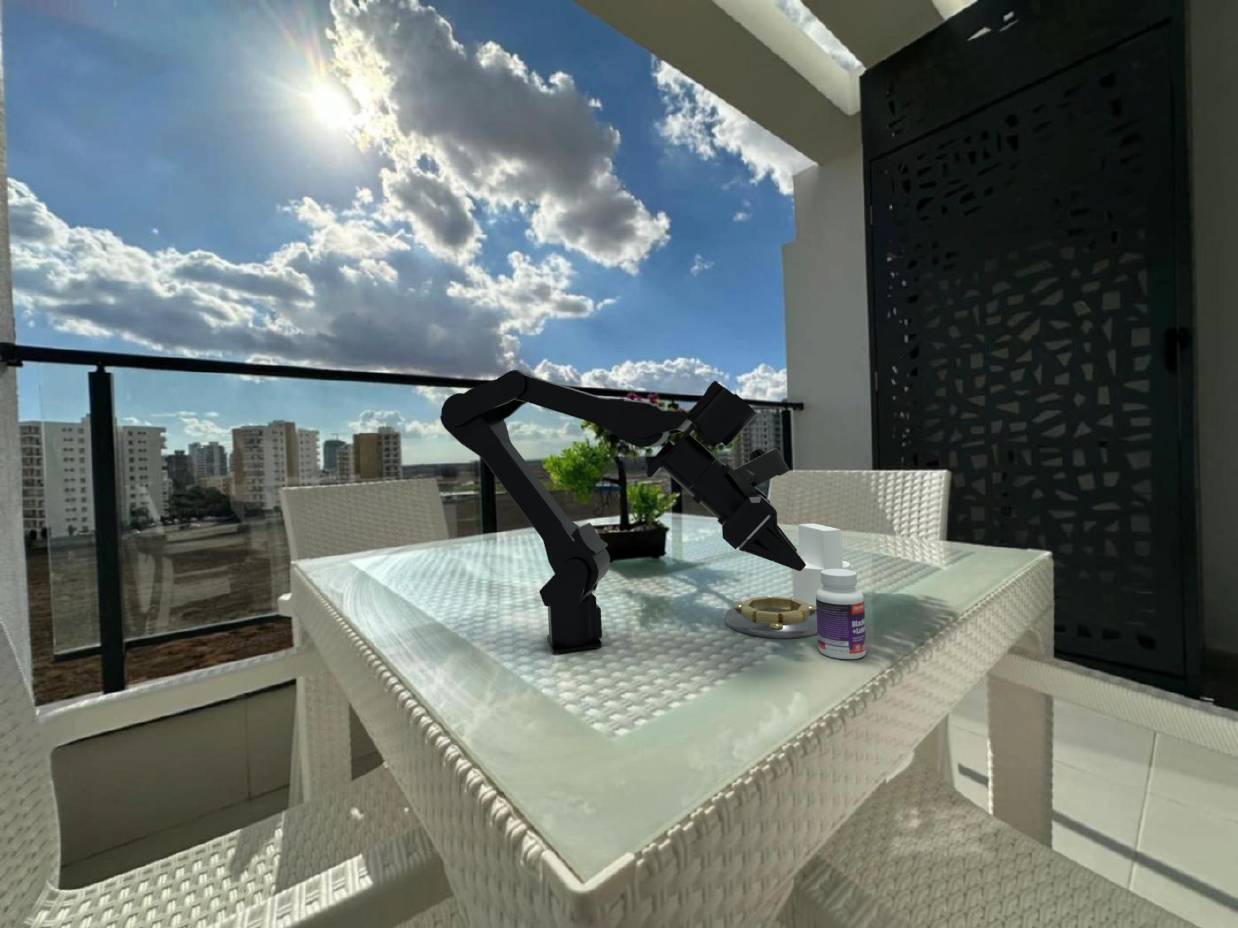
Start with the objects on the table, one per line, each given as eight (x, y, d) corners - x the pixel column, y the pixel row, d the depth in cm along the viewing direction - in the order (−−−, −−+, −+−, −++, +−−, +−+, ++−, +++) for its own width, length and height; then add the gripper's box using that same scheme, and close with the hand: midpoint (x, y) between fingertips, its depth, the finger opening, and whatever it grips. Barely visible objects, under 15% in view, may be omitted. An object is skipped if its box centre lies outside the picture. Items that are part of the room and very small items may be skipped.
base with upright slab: (784, 595, 89) (780, 525, 89) (833, 591, 90) (830, 522, 90) (808, 609, 80) (805, 532, 80) (863, 605, 81) (860, 528, 81)
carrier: (757, 644, 66) (756, 625, 66) (710, 615, 80) (709, 598, 80) (849, 630, 70) (849, 611, 70) (790, 603, 84) (789, 588, 84)
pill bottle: (863, 663, 59) (859, 578, 59) (814, 656, 62) (810, 574, 62) (869, 647, 64) (865, 568, 64) (823, 641, 67) (819, 565, 66)
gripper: (747, 422, 56) (864, 521, 53) (745, 430, 74) (832, 504, 72) (678, 498, 58) (788, 598, 55) (692, 488, 76) (775, 562, 73)
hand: (798, 560), depth 64 cm, fingers open, 9 cm apart
